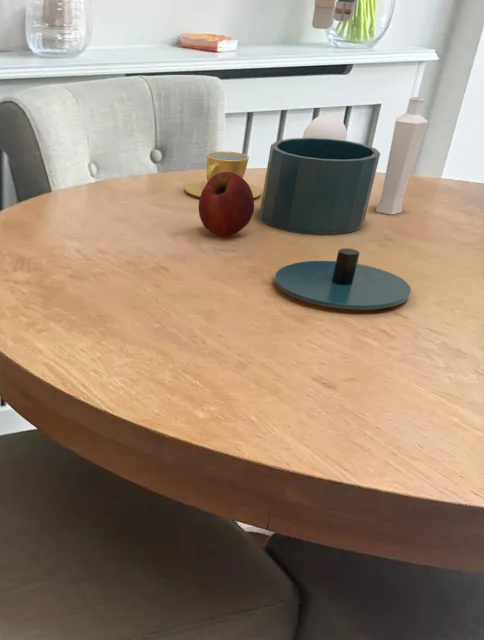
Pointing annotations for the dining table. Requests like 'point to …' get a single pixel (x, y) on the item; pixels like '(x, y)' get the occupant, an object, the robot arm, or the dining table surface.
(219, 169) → the cup
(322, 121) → the light bulb
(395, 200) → the perfume bottle
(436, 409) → the dining table surface
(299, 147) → the tin
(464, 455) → the dining table surface
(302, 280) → the tin lid
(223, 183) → the apple
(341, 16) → the robot arm
